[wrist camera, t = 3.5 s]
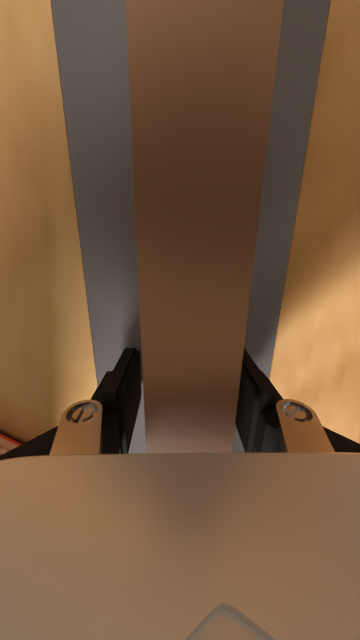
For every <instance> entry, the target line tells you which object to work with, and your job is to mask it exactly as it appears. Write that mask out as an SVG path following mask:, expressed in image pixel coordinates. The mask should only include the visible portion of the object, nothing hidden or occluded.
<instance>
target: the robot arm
mask: <svg viewBox="0 0 360 640" xmlns="http://www.w3.org/2000/svg"><path fill="white" fill-rule="evenodd" d="M141 393H142V392H141V371H140V352H139V350H136V348H124V350H123V352H122V354H121V356H120V358H119V360H118V362H117V364H116V365H115V367H114V369H113V371H107V372H106V374H105V375H104V377H103V379H102V381H101V382H100V384H99V386H98V387H97V389H96V391H95V393H94V394H93V396H92V398H91V400H83V401H79V402H77V403H74V404H72V405H71V406H69V407H68V408H67V409H66V410H65V411H64V412H63V414H62V416H61V420H60V423H59V426H57V427H55V428H53V429H51V430H49V431H47V432H45V433H43V434H41V435H39V436H37V437H35V438H34V439H32V440H30V441H28V442H26V443H24V444H22V445H20V446H18V447H16V448H14V449H12V450H10V451H8V452H6V453H4V454H2V455H0V640H360V444H359V443H356V442H354V441H352V440H350V439H348V438H346V437H344V436H342V435H339V434H337V433H335V432H333V431H331V430H329V429H327V428H325V427H323V426H322V425H321V423H320V421H319V419H318V417H317V415H316V413H315V412H314V410H312V409H311V408H310V407H309V406H307V405H306V404H304V403H302V402H299V401H296V400H292V399H283V398H282V397H281V395H280V394H279V393H278V391H277V390H276V389H275V387H274V386H273V385H272V383H271V382H270V380H269V379H268V378H267V376H266V375H265V374H264V373H263V372H262V371H261V370H260V369H259V368H258V366H257V365H256V364H255V362H254V361H253V359H252V358H251V357H250V355H249V354H248V353H247V351H246V350H245V349H244V351H243V360H242V368H241V377H240V386H239V394H238V403H237V412H236V420H235V425H236V428H237V431H238V433H239V436H240V439H241V442H242V445H243V448H244V450H245V452H242V453H132V454H128V452H129V448H130V444H131V440H132V435H133V431H134V427H135V422H136V418H137V414H138V410H139V405H140V401H141Z"/></svg>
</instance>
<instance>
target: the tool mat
mask: <svg viewBox="0 0 360 640" xmlns="http://www.w3.org/2000/svg"><path fill="white" fill-rule="evenodd" d="M330 1H331V0H284V3H283V12H282V21H281V29H280V38H279V47H278V55H277V64H276V73H275V81H274V90H273V99H272V107H271V116H270V125H269V134H268V142H267V151H266V160H265V168H264V177H263V186H262V194H261V203H260V212H259V220H258V229H257V238H256V247H255V255H254V264H253V273H252V281H251V290H250V299H249V307H248V316H247V325H246V333H245V342H244V349H245V350H246V351H247V353H248V354H249V355H250V357H251V358H252V359H253V361H254V362H255V364H256V365H257V366H258V368H259V369H260V370H261V371H262V372H263V373H264V374H265V375H266V376H267V378H268V379H269V376H270V370H271V364H272V358H273V352H274V345H275V339H276V333H277V327H278V321H279V315H280V308H281V302H282V296H283V290H284V284H285V278H286V272H287V265H288V259H289V253H290V247H291V241H292V235H293V228H294V222H295V216H296V210H297V204H298V198H299V192H300V185H301V179H302V173H303V167H304V161H305V155H306V149H307V142H308V136H309V130H310V124H311V118H312V112H313V105H314V99H315V93H316V87H317V81H318V75H319V69H320V62H321V56H322V50H323V44H324V38H325V32H326V25H327V19H328V13H329V7H330ZM51 8H52V16H53V25H54V33H55V41H56V49H57V57H58V66H59V74H60V82H61V90H62V98H63V107H64V115H65V123H66V131H67V139H68V148H69V156H70V164H71V172H72V180H73V189H74V197H75V205H76V213H77V221H78V230H79V238H80V246H81V254H82V262H83V271H84V279H85V287H86V295H87V303H88V311H89V320H90V328H91V336H92V344H93V352H94V361H95V369H96V377H97V385H98V386H99V384H100V382H101V381H102V379H103V377H104V375H105V374H106V372H107V371H113V369H114V367H115V365H116V364H117V362H118V360H119V358H120V356H121V354H122V352H123V350H124V348H136V350H139V352H140V371H141V392H142V393H141V401H140V405H139V410H138V414H137V418H136V422H135V427H134V431H133V435H132V440H131V444H130V448H129V452H128V454H132V453H146V436H145V414H144V392H143V370H142V348H141V326H140V305H139V283H138V261H137V239H136V217H135V195H134V173H133V151H132V130H131V108H130V86H129V64H128V42H127V20H126V0H51ZM242 452H245V450H244V448H243V445H242V442H241V439H240V436H239V433H238V431H237V428H236V425H235V429H234V438H233V446H232V453H242Z"/></svg>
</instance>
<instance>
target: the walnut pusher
mask: <svg viewBox="0 0 360 640" xmlns="http://www.w3.org/2000/svg"><path fill="white" fill-rule="evenodd" d="M283 3H284V0H126V20H127V42H128V64H129V86H130V108H131V130H132V151H133V173H134V195H135V217H136V239H137V261H138V283H139V305H140V326H141V348H142V370H143V392H144V414H145V436H146V453H232V446H233V438H234V429H235V420H236V412H237V403H238V394H239V386H240V377H241V368H242V360H243V351H244V342H245V333H246V325H247V316H248V307H249V299H250V290H251V281H252V273H253V264H254V255H255V247H256V238H257V229H258V220H259V212H260V203H261V194H262V186H263V177H264V168H265V160H266V151H267V142H268V134H269V125H270V116H271V107H272V99H273V90H274V81H275V73H276V64H277V55H278V47H279V38H280V29H281V21H282V12H283Z"/></svg>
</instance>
